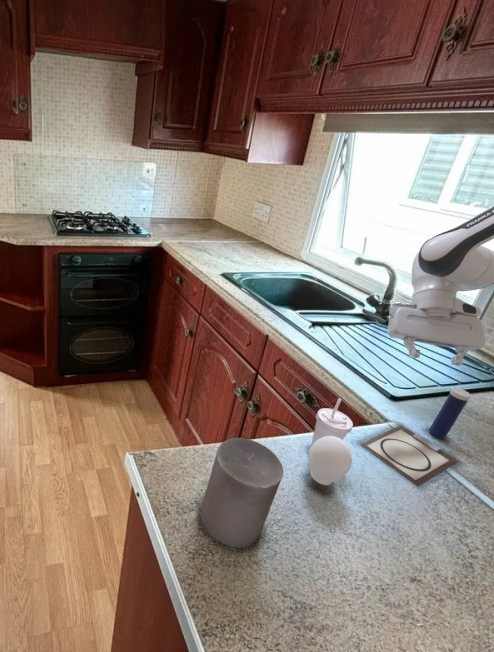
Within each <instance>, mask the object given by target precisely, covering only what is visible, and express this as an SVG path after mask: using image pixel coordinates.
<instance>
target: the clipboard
mask: <svg viewBox="0 0 494 652" xmlns="http://www.w3.org/2000/svg"><path fill="white" fill-rule="evenodd" d="M359 445H360V447H362V448H364V449H365V450H366V451H368V452H369V453H370V454H372V455H374V456H375V457H376V458H378V459H379V460H380V461H382V462H383V463H384V464H386V465H387V466H388V467H390V468H392V469H393V470H394V471H395V472H397V473H398V474H400V475H401V476H403V477H404V478H405V479H406V480H409V481H410V482H411V483H412V484H413V485H415V486H417V487H420V486H421V485H423V484H425V483H426V482H429V480H431V479H432V478H435V477H436V476H438V475H439V474H442V472H444V471H446V470H448V469H449V468H451V467H452V466H454V465H456V464H457V463H459V462H460V461H459V460H457V459H456V458H454V457H452V456H451V455H450V454H448V453H446V452H445V451H443V450H442V448H441V447H440V446H439V445H437V444H435V443H434V442H433V441H431V440H429V439H427V438H426V437H424V436H422V435H421V434H419V433H414V432H413V431H411V430H410V429H408V428H407V427H405V426H403V425H402V424H400V425H398V426H395V427H393V428H391V429H389V430H387V431H385V432H382V433H380V434H378V435H375V436H374V437H372V438H369V439H368V440H365V441H363V442H361V443H359Z"/></svg>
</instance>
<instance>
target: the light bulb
mask: <svg viewBox="0 0 494 652" xmlns="http://www.w3.org/2000/svg"><path fill="white" fill-rule="evenodd" d="M310 447H311V446H310ZM352 454H353V453H352V450H351V448H350V446H349V445H348V444H347V442H346V441H344V439H343V440H342V439H340V438H338V437H335V436H325V437H322V438H320V439H318V440H317V441H316V442H315V443H314V444H313V445H312V447H311V449H310V448H309V451H308V456H307V457H308V458H307V461H308V466H309V468H310V474H309V477H308V482H309V485H310V486H311V487H312V488H313V489H314V490H316V491H317V492H320V493H322V494H328V493H330V492H331V490H332V488H333V487H334V483H335V482H336V481H340V480H341V479H343V478H345V477H346V475H347V474H349V471H350V470H351V467H352V464H353V455H352Z"/></svg>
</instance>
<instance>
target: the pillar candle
mask: <svg viewBox="0 0 494 652" xmlns="http://www.w3.org/2000/svg"><path fill="white" fill-rule="evenodd" d="M283 477H284V466H283V464H282V462H281V460H280V459H279V457H278V456H277V455H276V453H274V452H273V451H272V450H271V449H270V448H268V447H267V446H265V445H263V444H262V443H260V442H258V441H255V440H252V439H249V438H244V437H233V438H228V439H227V440H224V441H223V442H222V443H221V444H220V445H219V446H218V448H217V451H216V455H215V457H214V462H213V465H212V469H211V472H210V476H209V479H208V484H207V487H206V490H205V493H204V497H203V500H202V503H201V507H200V513H199V514H200V515H199V516H200V520H201V521H200V522H201V523H202V525H203V527H204V528H205V530H206V532H208V534H209V535H210V536H211V537H212V538H213V539H215V540H216V541H218V542H220V543H221V544H222V545H225V546H227V547H231V548H235V549H236V548H237V549H238V548H240V549H243V548H248V547H250V546H252V545H253V544H255V543H256V542H257V540H258V539H259V538H260V537H261V535H262V531H263V528H264V525H265V523H266V520H267V519H268V515H269V513H270V510H271V507H272V504H273V502H274V500H275V497H276V495H277V492H278V490H279V487H280V484H281V481H282V479H283Z"/></svg>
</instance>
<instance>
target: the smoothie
mask: <svg viewBox="0 0 494 652" xmlns="http://www.w3.org/2000/svg"><path fill="white" fill-rule="evenodd" d="M341 402H342V398H337V401H336V403H335V405H334V408H328V407H326V408H325V407H324V408H323V407H322V408H320V409H318V411H317V413H316V414H315V419H316V422H315V425H314V430H313V435H312V439H311V442H310V448H309V450H310V449H311V447H312V445H313V444H314V443H315V442H316V441H317V440H318V439H320V438H322V437H325V436H335V437H338V438H340V439H342V440H343V441H344V439H345V438H346V436H347V434H349V433H351V432H352V430H353V428H354V423H353V420H352V419H351V418H350V417H349V416H347V415H346V414H345V413H343V412H342V411H339V410H338V409H339V408H340V407H339V406H340V404H341Z"/></svg>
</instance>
